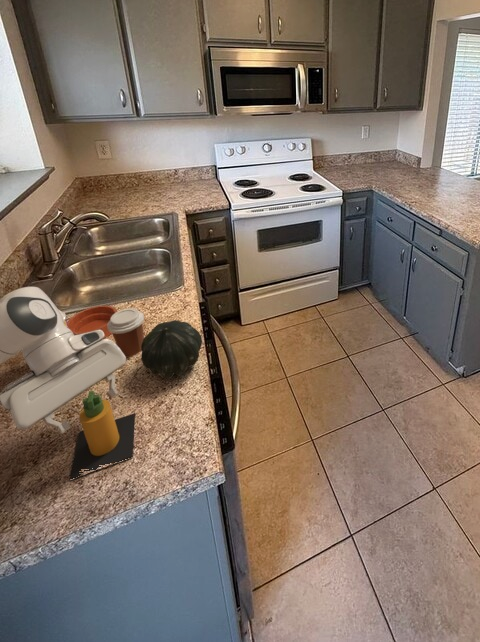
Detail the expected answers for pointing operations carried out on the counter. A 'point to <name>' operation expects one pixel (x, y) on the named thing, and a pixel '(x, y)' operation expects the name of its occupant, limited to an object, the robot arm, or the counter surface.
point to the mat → (119, 453)
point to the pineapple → (98, 425)
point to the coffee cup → (127, 330)
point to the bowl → (92, 320)
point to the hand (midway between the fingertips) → (91, 413)
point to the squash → (171, 348)
